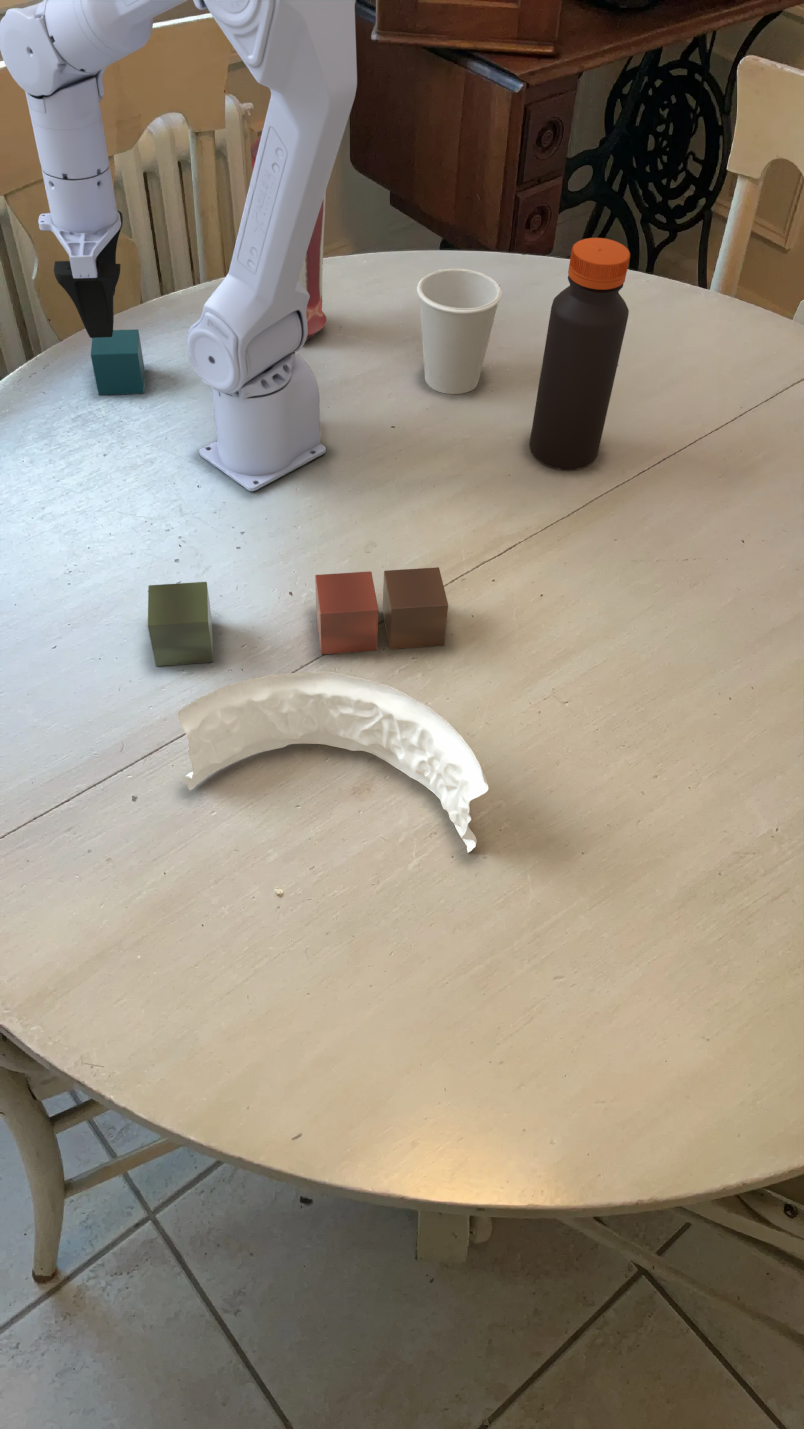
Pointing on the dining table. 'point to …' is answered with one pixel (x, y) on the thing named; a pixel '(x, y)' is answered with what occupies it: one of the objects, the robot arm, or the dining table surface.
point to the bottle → (581, 356)
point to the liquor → (310, 266)
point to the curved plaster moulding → (335, 731)
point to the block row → (340, 612)
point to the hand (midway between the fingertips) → (102, 314)
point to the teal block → (118, 363)
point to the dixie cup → (456, 326)
